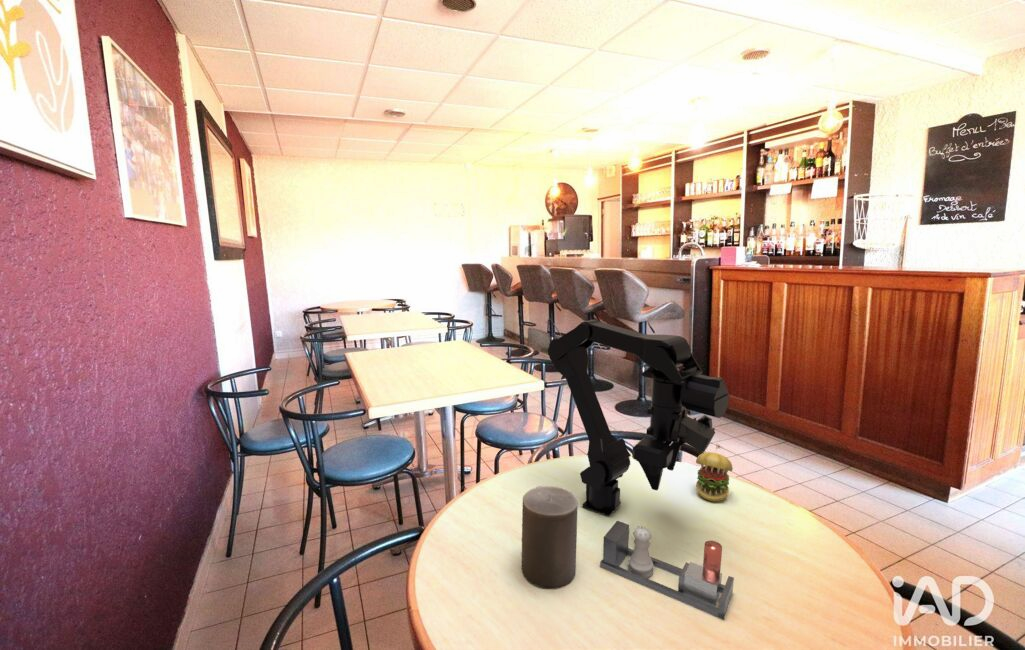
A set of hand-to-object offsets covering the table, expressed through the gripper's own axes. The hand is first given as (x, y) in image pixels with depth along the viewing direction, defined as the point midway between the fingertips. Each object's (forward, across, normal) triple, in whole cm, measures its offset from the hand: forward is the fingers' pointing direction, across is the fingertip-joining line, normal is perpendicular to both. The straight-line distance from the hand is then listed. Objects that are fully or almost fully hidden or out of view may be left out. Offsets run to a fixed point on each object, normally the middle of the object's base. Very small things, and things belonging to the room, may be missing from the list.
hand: (662, 479), depth 91 cm
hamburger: (+12, +21, -5) cm, 25 cm away
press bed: (+12, -12, -5) cm, 18 cm away
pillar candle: (+12, -21, +13) cm, 28 cm away
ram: (+12, -12, -11) cm, 20 cm away
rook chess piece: (+12, -12, 0) cm, 17 cm away
